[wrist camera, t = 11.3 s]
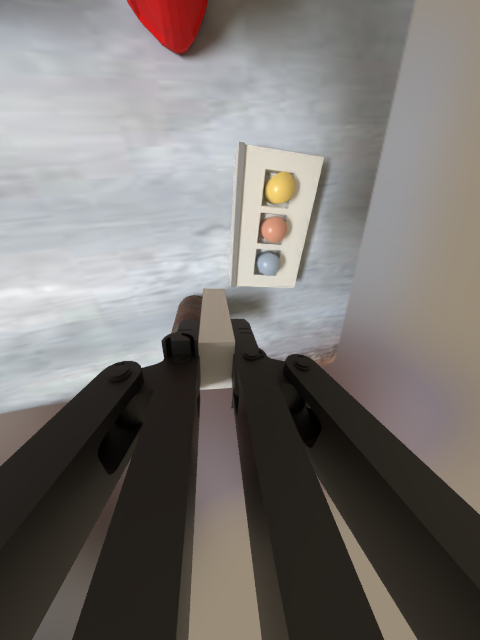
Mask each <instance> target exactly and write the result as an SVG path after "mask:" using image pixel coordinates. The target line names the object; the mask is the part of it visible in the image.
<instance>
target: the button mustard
mask: <svg viewBox="0 0 480 640" xmlns="http://www.w3.org/2000/svg"><path fill="white" fill-rule="evenodd" d="M294 189H295V182H294V179H293V177H292V175H291V174H290V173H288V172H285V171H283V172H279V173H278V174H276V175H275V176H273V177H272V178H270V179H269V180H268V181H267V182H266V184H265V186H264V197H265V199H266V201H267V202H268V203H269V204H272V205H275V204H280V203H284V202H286V201H288V200H289V199H290V198H291V197H292V195H293V193H294Z"/></svg>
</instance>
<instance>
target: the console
mask: <svg viewBox="0 0 480 640" xmlns="http://www.w3.org/2000/svg"><path fill="white" fill-rule="evenodd" d="M323 160H324V157H319V156H313V155H307V154H301V153H295V152H288V151H282V150H276V149H270V148H264V147H258V146H252V145H245V143H243V142H239V145H238V147H237V150H236V153H235V162H234V183H233V203H232V224H231V244H230V265H229V281H230V284H231V287H235V286H253V287H286V288H294V286H295V281H296V277H297V273H298V268H299V264H300V260H301V255H302V251H303V247H304V242H305V238H306V234H307V229H308V225H309V221H310V216H311V212H312V208H313V203H314V199H315V195H316V190H317V186H318V182H319V177H320V173H321V169H322V164H323ZM283 171H285V172H288V173H290V174H291V175H292V177H293V179H294V182H295V189H294V193H293V195H292V197H291V198H290V199H289V200H288V201H286V202H284V203H280V204H275V205H272V204H269V203H268V202H267V201H266V199H265V197H264V186H265V184H266V182H267V181H268V180H269V179H270V178H272V177H273V176H275V175H276V174H278V173H279V172H283ZM268 217H280V218H282V219H284V221H285V222H286V224H287V233H286V235H285V237H284V238H283V239H282V240H281V241H279V242H276V243H273V242H270V241H267V240H265V239H263V238H262V237H261V235H260V233H259V227H260V224H261V222H262V221H263V220H264V219H265V218H268ZM263 251H268V252H270V253H272V254H274V255H276V256H277V257H278V258H279V259H280V262H281V266H280V269H279V271H278V272H277V273H276V274H275V275H272V276H266V275H264V274H263V273H262V272H261V271H260V270H259V269H258V268H257V266H256V257H257V256H258V254H260V253H261V252H263Z"/></svg>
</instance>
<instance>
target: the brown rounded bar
mask: <svg viewBox="0 0 480 640" xmlns="http://www.w3.org/2000/svg"><path fill="white" fill-rule="evenodd" d="M201 309H202V298H201V297H198V296H189V297H186V298H185V299H183V301H182V302H181V303H180V305H179V307H178V311H177V314H176V318H175V322H174V325H173V329H172V333H174V332H177V331H178V327H179V324H180V323H181V322H182V321H183V320H200V319H201Z"/></svg>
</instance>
